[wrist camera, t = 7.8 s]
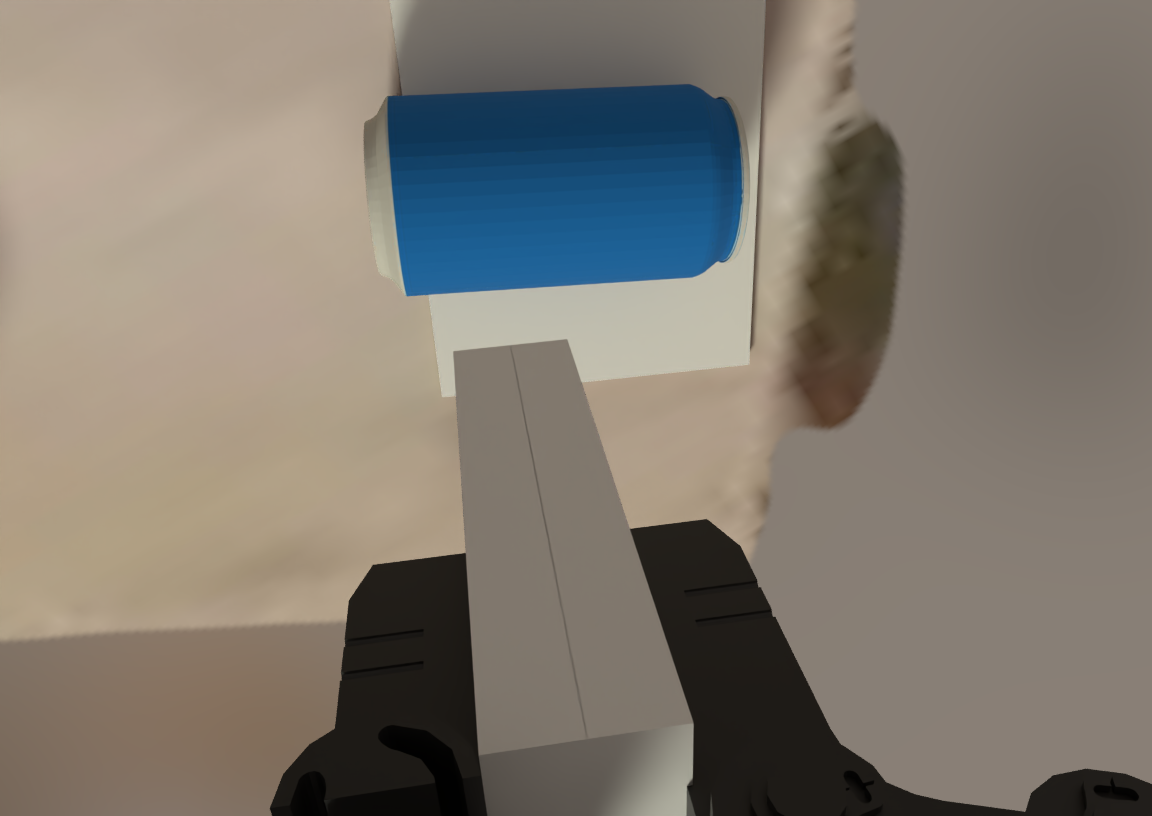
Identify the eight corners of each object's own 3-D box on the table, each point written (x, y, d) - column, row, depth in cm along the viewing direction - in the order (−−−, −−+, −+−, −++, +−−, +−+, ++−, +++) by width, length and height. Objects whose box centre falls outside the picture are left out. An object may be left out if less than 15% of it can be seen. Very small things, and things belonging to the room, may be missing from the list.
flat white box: (357, -253, 28) (355, -256, 28) (772, -268, 29) (778, -271, 29) (442, 390, 39) (441, 397, 38) (744, 358, 40) (749, 364, 39)
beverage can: (384, 213, 35) (692, 196, 37) (386, 337, 31) (731, 313, 33) (360, 57, 30) (718, 44, 32) (358, 181, 26) (768, 160, 28)
